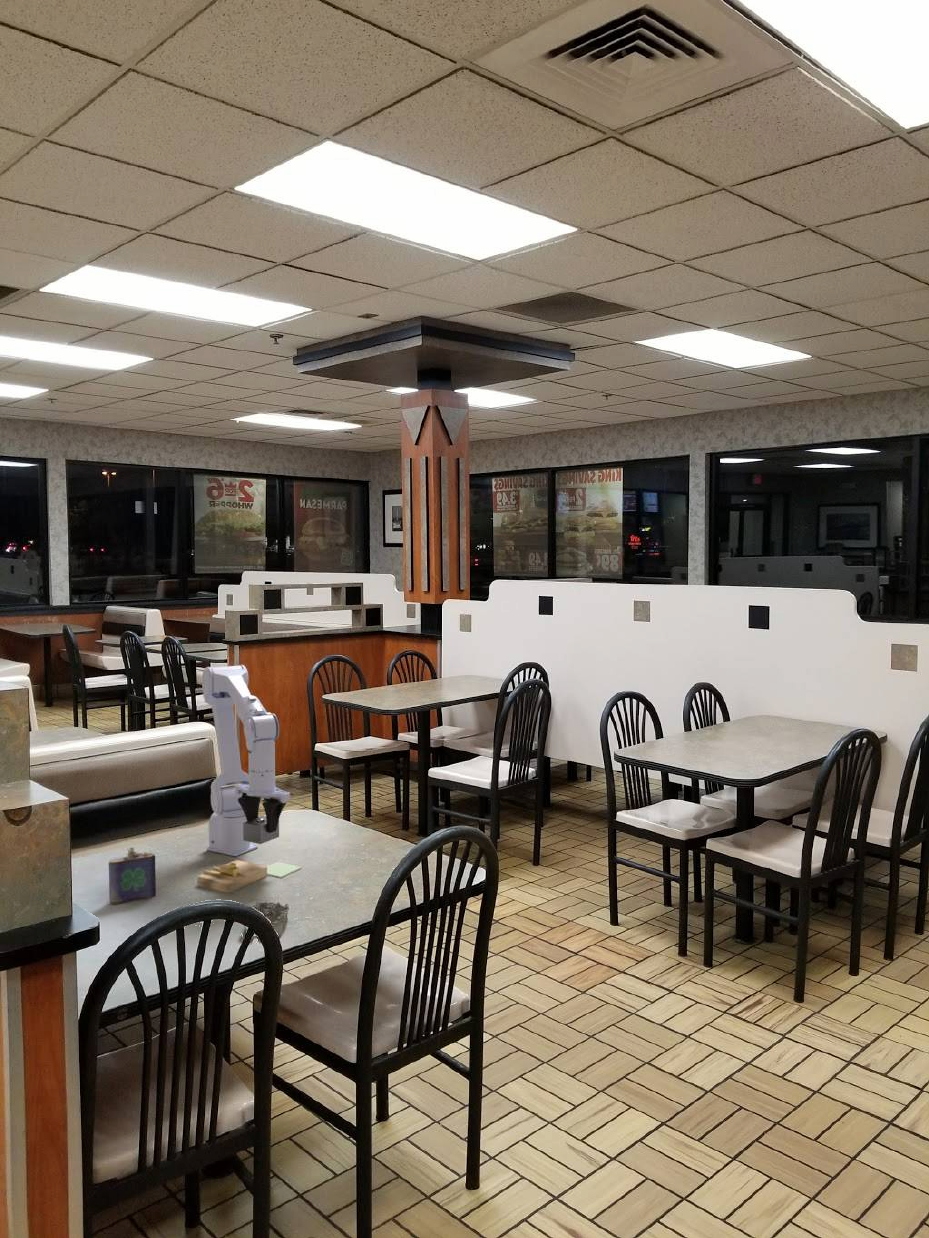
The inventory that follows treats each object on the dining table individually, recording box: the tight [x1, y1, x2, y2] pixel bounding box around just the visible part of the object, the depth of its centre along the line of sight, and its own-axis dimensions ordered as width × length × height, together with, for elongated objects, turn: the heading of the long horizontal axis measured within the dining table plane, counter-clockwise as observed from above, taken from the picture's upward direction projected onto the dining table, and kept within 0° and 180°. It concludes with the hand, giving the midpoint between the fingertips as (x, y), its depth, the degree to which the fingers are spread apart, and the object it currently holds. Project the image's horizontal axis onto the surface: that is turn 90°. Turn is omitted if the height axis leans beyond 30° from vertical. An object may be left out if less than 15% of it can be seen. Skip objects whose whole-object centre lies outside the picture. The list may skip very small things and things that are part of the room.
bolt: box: [219, 863, 239, 878], centre depth 202 cm, size 4×2×3 cm, turn 60°
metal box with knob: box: [243, 815, 280, 845], centre depth 209 cm, size 5×6×4 cm
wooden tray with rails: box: [196, 859, 268, 894], centre depth 205 cm, size 9×12×3 cm
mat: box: [266, 861, 303, 879], centre depth 212 cm, size 7×7×1 cm
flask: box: [108, 847, 157, 906], centre depth 194 cm, size 9×3×11 cm, turn 121°
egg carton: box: [251, 900, 290, 939], centre depth 181 cm, size 11×8×4 cm
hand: (262, 829), depth 209 cm, fingers closed on metal box with knob, 5 cm apart
